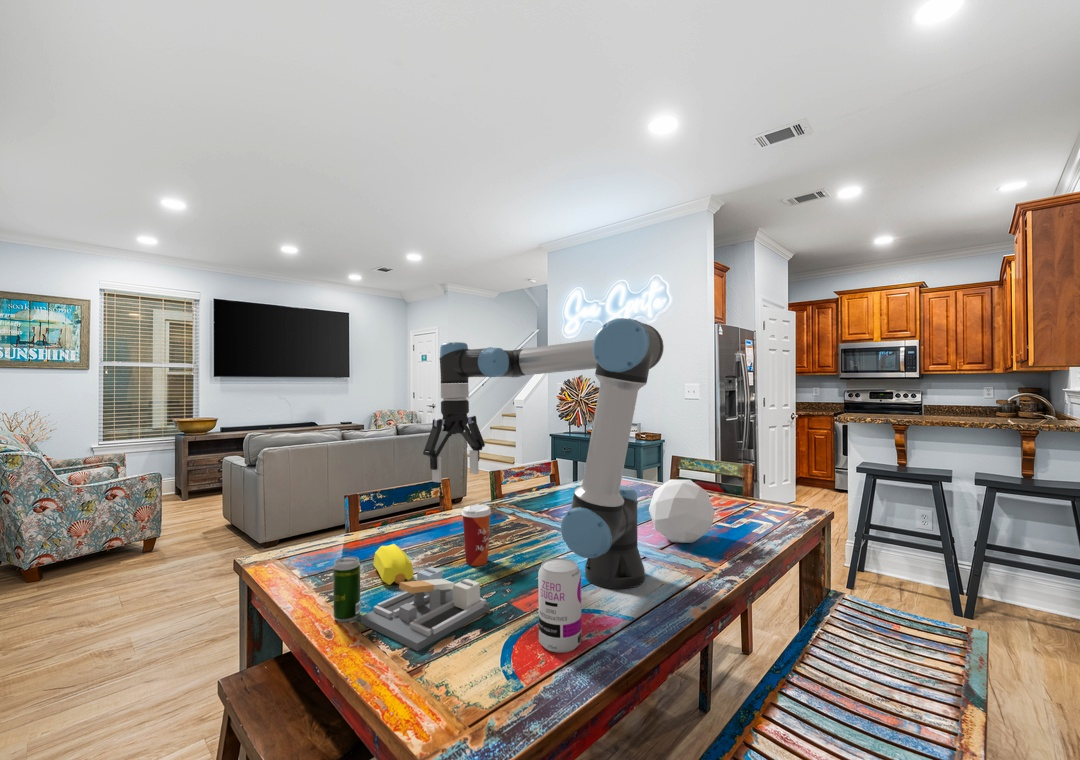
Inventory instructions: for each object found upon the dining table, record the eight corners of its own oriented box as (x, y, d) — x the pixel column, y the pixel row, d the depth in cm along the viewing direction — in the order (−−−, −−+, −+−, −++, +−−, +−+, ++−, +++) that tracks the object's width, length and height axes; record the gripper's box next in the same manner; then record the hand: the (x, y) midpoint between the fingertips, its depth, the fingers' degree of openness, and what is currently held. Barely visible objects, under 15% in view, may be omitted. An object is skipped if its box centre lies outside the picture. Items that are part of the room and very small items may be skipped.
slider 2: (480, 603, 106) (479, 581, 106) (466, 610, 103) (466, 588, 103) (466, 598, 108) (466, 577, 108) (453, 605, 105) (453, 583, 105)
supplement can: (578, 631, 98) (578, 556, 98) (583, 654, 90) (583, 573, 90) (538, 632, 98) (537, 557, 98) (539, 655, 89) (539, 573, 89)
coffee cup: (486, 568, 130) (486, 512, 130) (457, 566, 132) (457, 511, 132) (495, 557, 139) (495, 504, 139) (468, 555, 140) (467, 503, 140)
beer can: (363, 610, 107) (363, 555, 107) (356, 622, 102) (356, 565, 102) (338, 611, 107) (337, 556, 107) (330, 623, 102) (329, 566, 102)
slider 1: (442, 589, 113) (442, 569, 113) (428, 596, 110) (428, 575, 110) (430, 585, 116) (430, 565, 115) (417, 591, 112) (417, 571, 112)
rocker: (452, 591, 108) (454, 582, 108) (410, 597, 98) (412, 587, 99) (440, 587, 110) (442, 578, 110) (398, 592, 101) (399, 582, 101)
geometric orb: (699, 563, 151) (739, 519, 144) (648, 548, 144) (687, 501, 137) (675, 518, 167) (710, 476, 160) (629, 503, 161) (663, 458, 153)
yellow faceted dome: (385, 591, 117) (416, 584, 121) (385, 563, 117) (416, 557, 121) (371, 566, 133) (399, 561, 137) (370, 542, 133) (399, 537, 137)
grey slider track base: (490, 610, 107) (489, 582, 107) (417, 651, 91) (417, 619, 91) (434, 589, 118) (433, 564, 118) (360, 623, 102) (360, 594, 102)
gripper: (477, 397, 145) (478, 469, 145) (408, 401, 125) (409, 484, 125) (496, 397, 140) (497, 471, 140) (427, 401, 120) (429, 487, 120)
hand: (456, 477), depth 132 cm, fingers open, 13 cm apart
